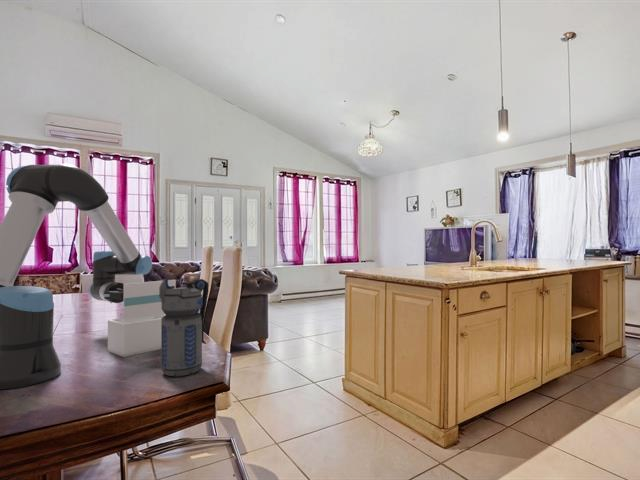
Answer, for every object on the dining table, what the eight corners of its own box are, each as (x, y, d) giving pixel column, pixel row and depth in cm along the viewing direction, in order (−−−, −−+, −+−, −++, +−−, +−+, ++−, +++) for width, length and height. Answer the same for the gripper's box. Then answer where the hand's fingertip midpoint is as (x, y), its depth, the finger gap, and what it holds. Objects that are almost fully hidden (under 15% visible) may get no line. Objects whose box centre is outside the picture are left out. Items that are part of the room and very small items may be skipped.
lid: (123, 283, 109) (124, 283, 109) (174, 279, 122) (175, 279, 122) (123, 320, 109) (124, 320, 109) (174, 312, 122) (175, 312, 122)
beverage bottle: (217, 368, 98) (216, 277, 99) (168, 382, 88) (168, 280, 89) (198, 361, 105) (198, 275, 106) (152, 372, 95) (152, 278, 96)
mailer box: (107, 350, 117) (107, 320, 117) (155, 340, 129) (155, 312, 130) (123, 357, 109) (123, 324, 110) (173, 346, 122) (173, 316, 122)
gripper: (132, 300, 140) (163, 305, 125) (95, 304, 130) (124, 310, 115) (132, 281, 140) (163, 284, 126) (95, 283, 130) (124, 287, 115)
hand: (144, 296), depth 120 cm, fingers closed
